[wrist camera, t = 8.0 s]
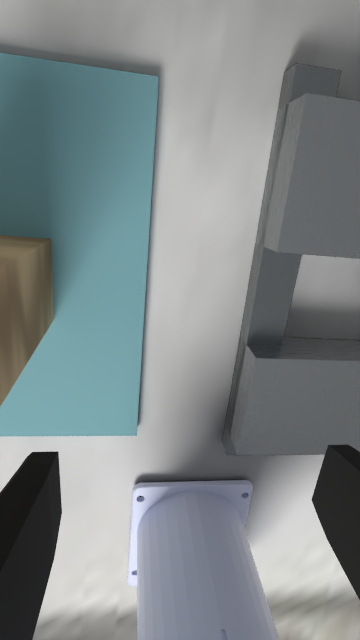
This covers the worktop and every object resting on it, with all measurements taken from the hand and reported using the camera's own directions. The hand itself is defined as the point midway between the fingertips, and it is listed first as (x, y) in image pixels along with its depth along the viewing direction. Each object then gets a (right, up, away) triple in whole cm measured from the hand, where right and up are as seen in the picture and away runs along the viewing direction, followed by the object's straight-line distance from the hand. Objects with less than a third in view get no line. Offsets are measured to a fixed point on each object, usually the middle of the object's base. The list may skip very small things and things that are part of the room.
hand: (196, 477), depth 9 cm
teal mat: (-9, +6, +8) cm, 13 cm away
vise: (+11, +5, +11) cm, 16 cm away
